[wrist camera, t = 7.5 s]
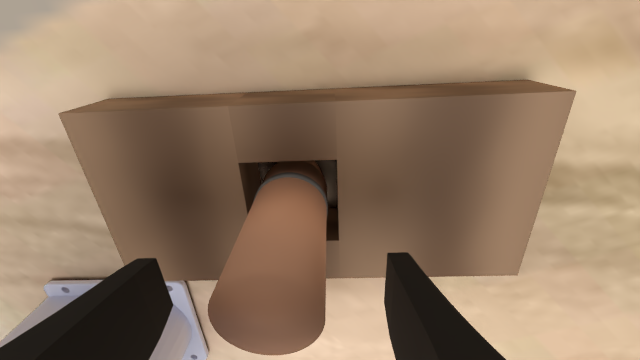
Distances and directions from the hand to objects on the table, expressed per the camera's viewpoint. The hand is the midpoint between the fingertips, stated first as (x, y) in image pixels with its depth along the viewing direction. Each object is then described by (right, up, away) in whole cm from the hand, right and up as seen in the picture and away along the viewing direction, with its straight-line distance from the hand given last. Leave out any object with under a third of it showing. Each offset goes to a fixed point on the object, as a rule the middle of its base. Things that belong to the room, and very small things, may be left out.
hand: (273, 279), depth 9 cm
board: (+1, +3, +7) cm, 8 cm away
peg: (0, +3, +7) cm, 8 cm away
